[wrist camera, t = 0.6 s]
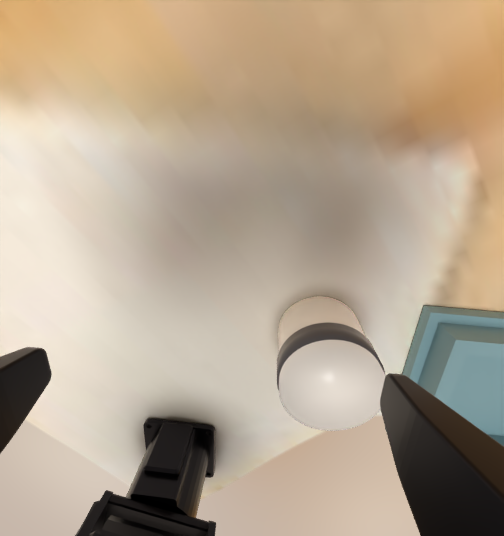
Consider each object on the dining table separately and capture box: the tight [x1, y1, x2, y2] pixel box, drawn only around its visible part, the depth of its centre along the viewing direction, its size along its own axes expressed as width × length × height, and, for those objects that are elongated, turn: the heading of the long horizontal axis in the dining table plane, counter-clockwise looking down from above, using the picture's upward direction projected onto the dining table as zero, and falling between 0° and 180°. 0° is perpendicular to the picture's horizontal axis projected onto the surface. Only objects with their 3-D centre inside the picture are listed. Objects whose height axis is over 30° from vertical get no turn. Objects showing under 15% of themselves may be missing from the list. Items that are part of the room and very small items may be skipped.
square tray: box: [385, 305, 504, 446], centre depth 20 cm, size 12×12×3 cm
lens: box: [277, 296, 386, 431], centre depth 19 cm, size 6×6×6 cm
